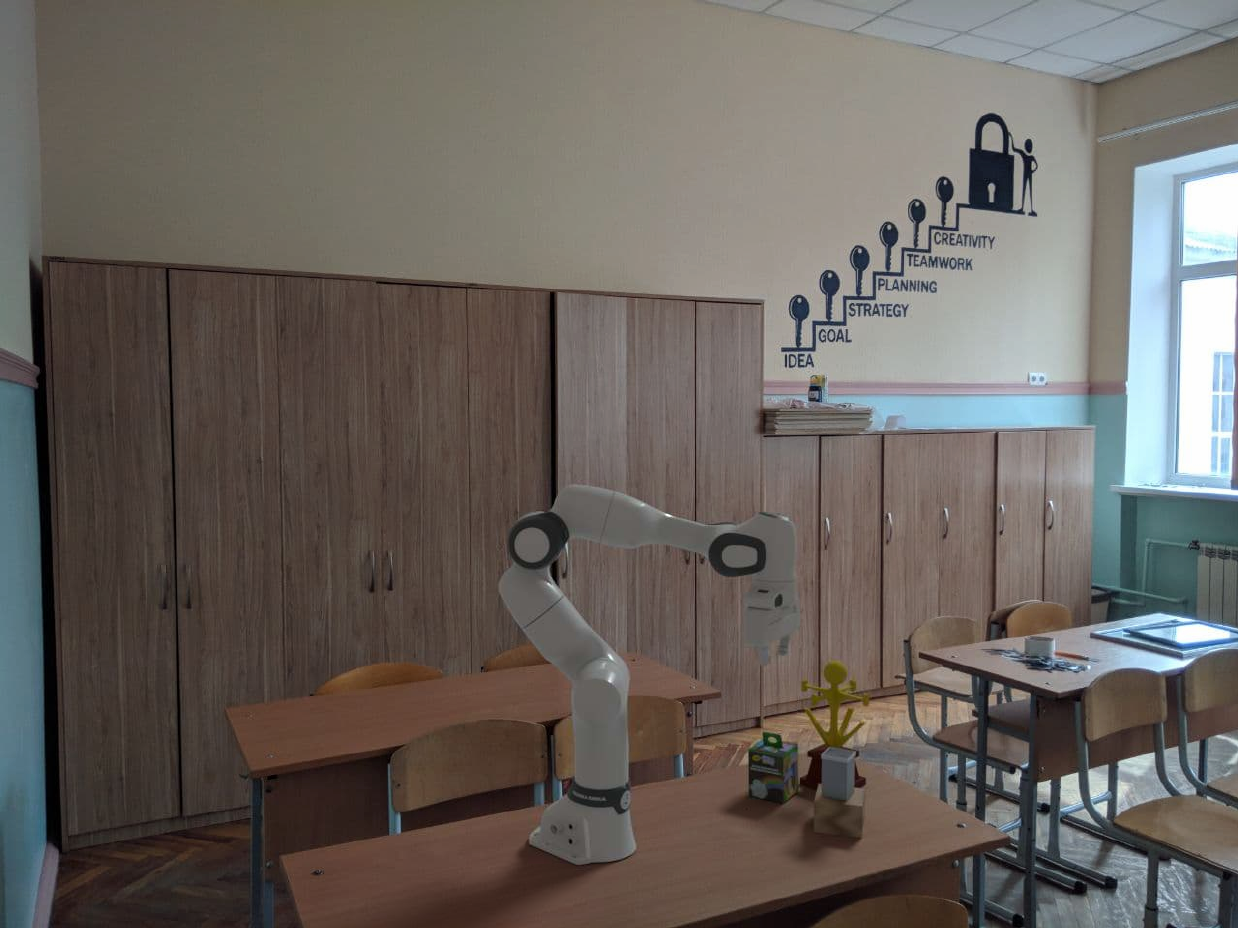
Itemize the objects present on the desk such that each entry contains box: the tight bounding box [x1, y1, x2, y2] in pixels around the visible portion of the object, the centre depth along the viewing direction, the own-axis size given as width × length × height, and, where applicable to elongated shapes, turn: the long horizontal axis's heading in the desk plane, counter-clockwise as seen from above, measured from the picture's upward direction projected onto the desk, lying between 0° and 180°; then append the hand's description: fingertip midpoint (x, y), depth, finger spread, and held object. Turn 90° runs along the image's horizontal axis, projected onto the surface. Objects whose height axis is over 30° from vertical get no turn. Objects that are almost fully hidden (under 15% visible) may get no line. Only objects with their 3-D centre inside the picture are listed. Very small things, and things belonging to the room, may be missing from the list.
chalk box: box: [747, 731, 799, 805], centre depth 230 cm, size 9×9×15 cm
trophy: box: [799, 660, 870, 791], centre depth 236 cm, size 14×16×30 cm
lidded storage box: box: [821, 747, 856, 801], centre depth 212 cm, size 6×6×9 cm
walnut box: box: [813, 784, 866, 839], centre depth 213 cm, size 10×10×7 cm
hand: (774, 659), depth 199 cm, fingers open, 8 cm apart
